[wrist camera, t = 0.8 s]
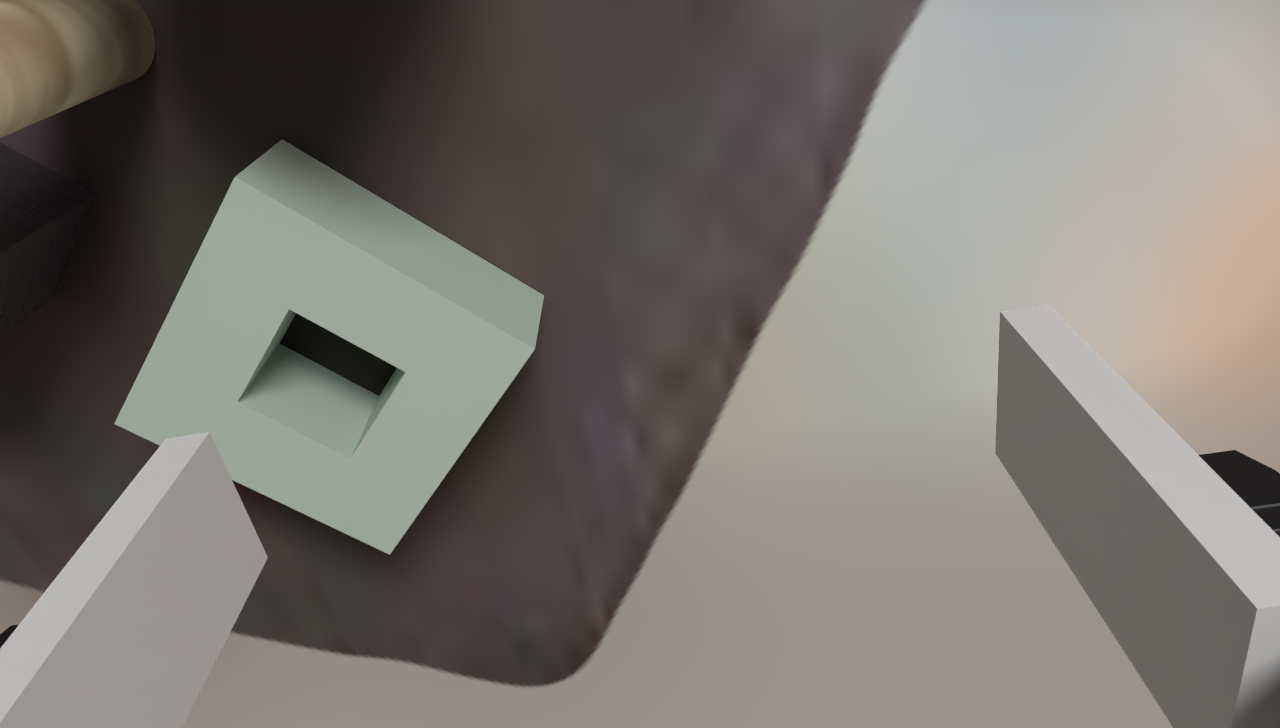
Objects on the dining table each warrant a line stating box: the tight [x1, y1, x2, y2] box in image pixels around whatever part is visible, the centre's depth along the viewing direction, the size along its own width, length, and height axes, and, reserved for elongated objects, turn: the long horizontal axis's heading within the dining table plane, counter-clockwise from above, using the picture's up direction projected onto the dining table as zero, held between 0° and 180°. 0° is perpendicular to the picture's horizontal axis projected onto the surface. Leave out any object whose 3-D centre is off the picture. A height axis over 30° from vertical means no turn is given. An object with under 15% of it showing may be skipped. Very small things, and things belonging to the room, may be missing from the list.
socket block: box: [115, 139, 544, 555], centre depth 37 cm, size 12×12×5 cm
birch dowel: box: [0, 0, 155, 138], centre depth 28 cm, size 4×4×12 cm
